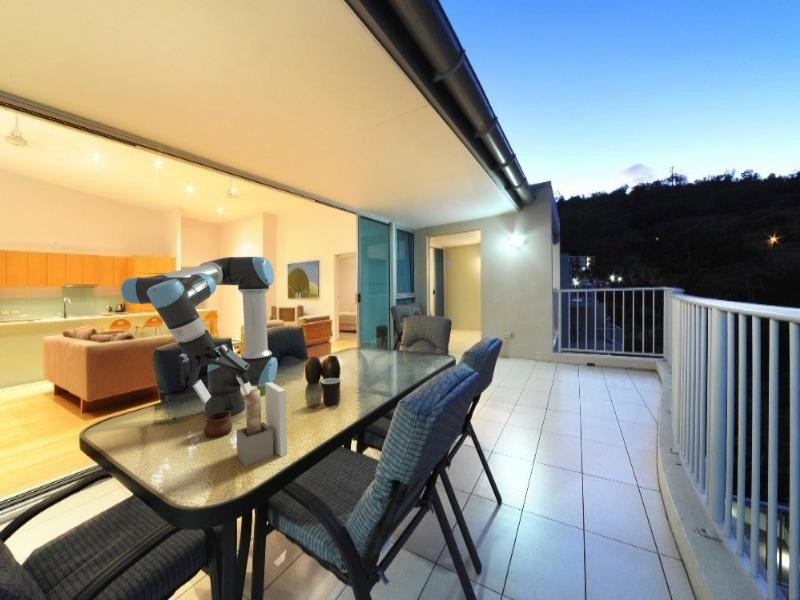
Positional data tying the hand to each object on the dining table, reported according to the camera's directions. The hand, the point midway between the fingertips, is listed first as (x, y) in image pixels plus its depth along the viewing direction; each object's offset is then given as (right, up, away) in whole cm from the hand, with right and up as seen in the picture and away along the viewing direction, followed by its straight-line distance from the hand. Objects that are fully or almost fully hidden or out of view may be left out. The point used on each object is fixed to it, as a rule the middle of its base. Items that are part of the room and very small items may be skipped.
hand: (228, 395), depth 91 cm
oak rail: (+7, -15, +2) cm, 17 cm away
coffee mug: (+20, -18, +48) cm, 55 cm away
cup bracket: (+8, -19, +4) cm, 21 cm away
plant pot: (-16, -18, +61) cm, 65 cm away
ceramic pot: (-14, -20, +18) cm, 30 cm away
